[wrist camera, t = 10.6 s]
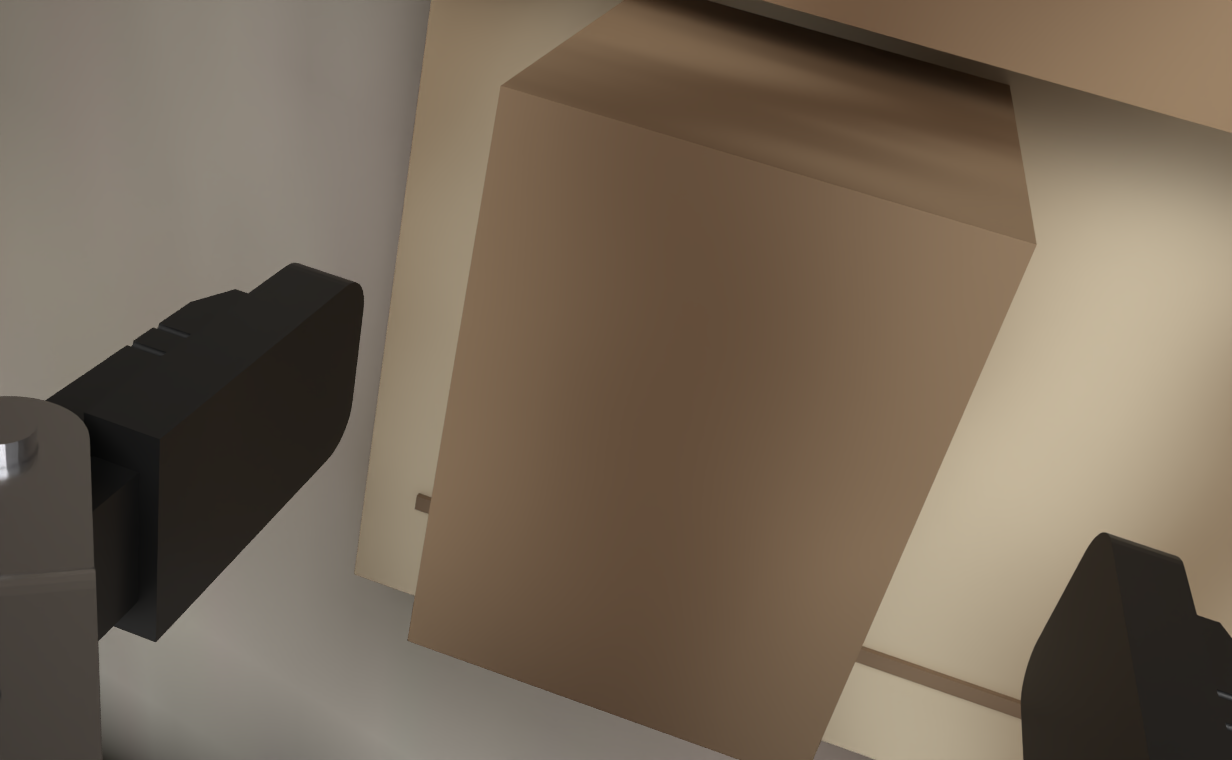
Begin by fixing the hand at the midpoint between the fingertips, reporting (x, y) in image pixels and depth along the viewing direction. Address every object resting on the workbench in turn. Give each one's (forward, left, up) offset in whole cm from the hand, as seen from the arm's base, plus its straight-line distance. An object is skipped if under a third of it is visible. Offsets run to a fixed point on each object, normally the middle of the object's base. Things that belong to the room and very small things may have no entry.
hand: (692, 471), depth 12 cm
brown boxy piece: (0, +2, -6) cm, 6 cm away
